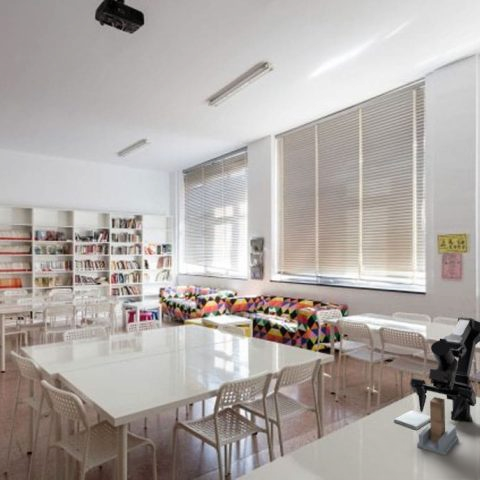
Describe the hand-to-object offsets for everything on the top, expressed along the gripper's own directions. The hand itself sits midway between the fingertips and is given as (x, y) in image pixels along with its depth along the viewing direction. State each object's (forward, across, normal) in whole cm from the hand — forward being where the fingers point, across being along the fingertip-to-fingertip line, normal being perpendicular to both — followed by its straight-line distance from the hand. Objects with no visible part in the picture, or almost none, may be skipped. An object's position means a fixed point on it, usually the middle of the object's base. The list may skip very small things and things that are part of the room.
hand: (436, 415), depth 127 cm
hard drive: (-2, -12, +16) cm, 20 cm away
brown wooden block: (+5, 0, +7) cm, 8 cm away
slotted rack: (+5, 0, +7) cm, 9 cm away
